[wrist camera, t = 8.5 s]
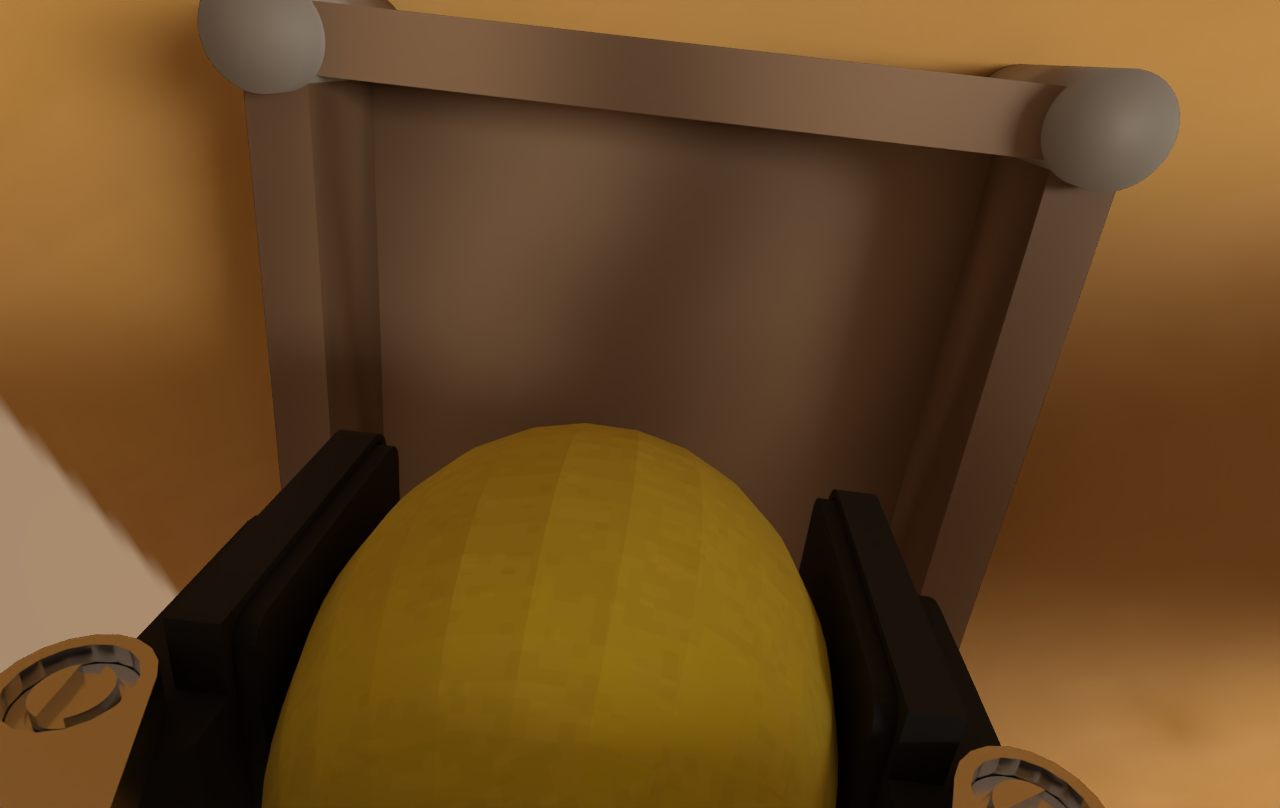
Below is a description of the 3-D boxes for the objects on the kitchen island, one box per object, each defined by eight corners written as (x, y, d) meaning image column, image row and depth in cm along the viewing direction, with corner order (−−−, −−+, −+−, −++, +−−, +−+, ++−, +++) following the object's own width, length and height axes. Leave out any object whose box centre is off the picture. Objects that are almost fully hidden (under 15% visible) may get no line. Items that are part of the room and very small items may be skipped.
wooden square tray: (1072, 69, 14) (1199, 75, 10) (892, 661, 20) (935, 800, 16) (320, -16, 14) (190, -39, 11) (353, 589, 20) (275, 709, 16)
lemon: (509, 676, 14) (301, 1384, 6) (370, 393, 12) (-167, 960, 4) (826, 607, 13) (1004, 1351, 5) (735, 285, 11) (823, 785, 3)
